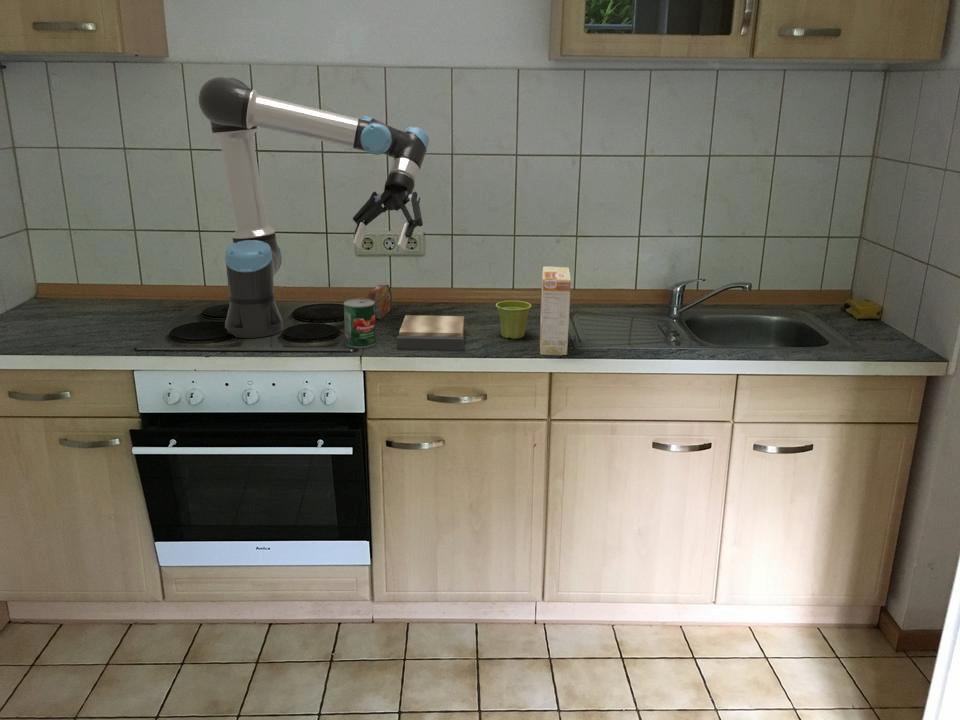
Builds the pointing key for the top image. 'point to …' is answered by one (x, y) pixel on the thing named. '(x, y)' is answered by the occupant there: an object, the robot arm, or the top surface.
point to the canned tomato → (359, 323)
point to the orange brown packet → (381, 300)
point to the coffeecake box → (554, 310)
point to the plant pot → (513, 318)
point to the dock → (431, 333)
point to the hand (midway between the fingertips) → (378, 246)
